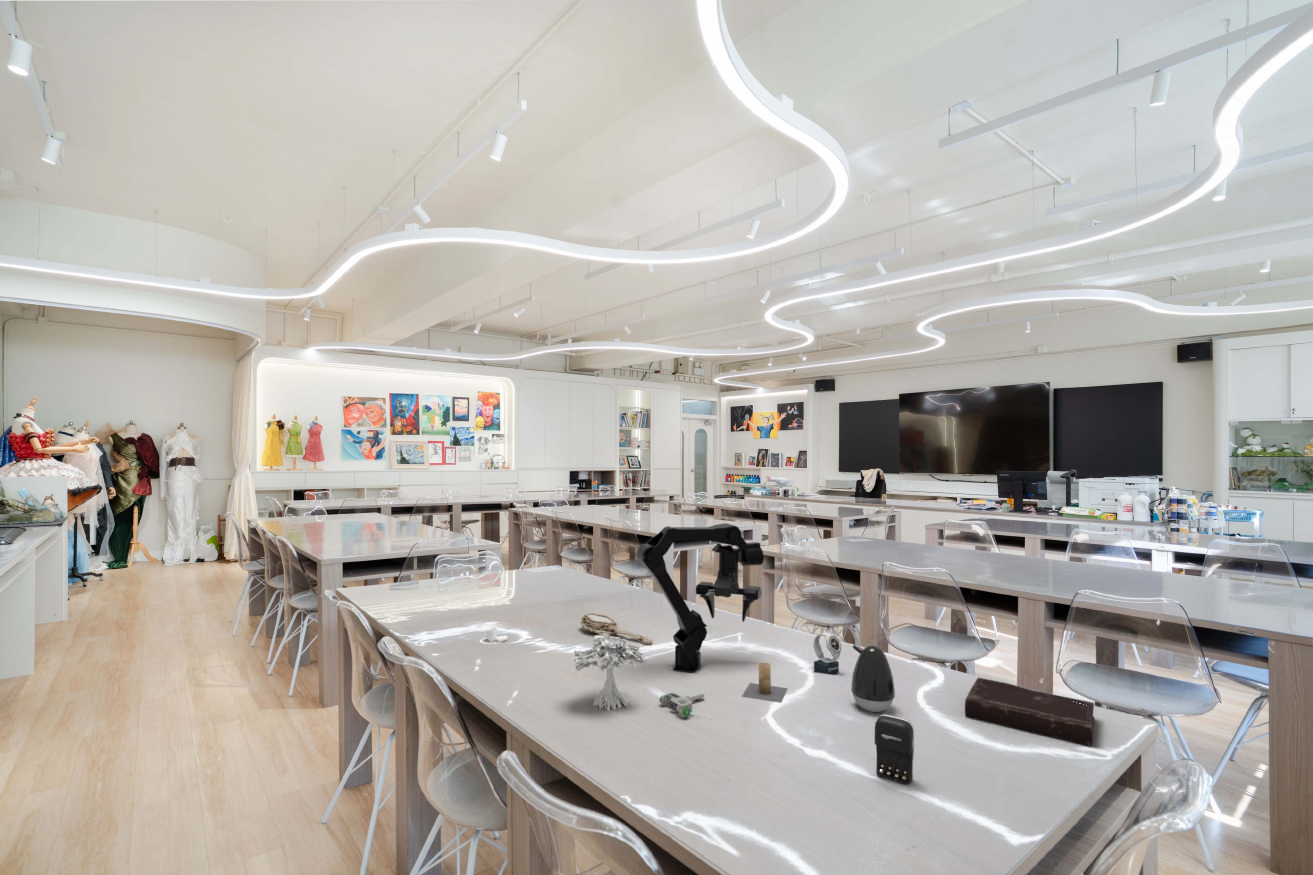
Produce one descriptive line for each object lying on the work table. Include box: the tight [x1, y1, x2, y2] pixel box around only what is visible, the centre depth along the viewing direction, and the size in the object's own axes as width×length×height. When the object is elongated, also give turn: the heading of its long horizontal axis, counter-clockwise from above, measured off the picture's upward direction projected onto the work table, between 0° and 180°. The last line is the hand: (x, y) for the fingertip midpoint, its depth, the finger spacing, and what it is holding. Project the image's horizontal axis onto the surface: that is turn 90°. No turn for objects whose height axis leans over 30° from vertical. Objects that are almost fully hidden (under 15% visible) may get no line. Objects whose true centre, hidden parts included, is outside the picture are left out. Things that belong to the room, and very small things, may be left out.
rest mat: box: [741, 682, 789, 704], centre depth 161 cm, size 10×10×1 cm
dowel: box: [758, 662, 772, 694], centre depth 161 cm, size 3×3×7 cm
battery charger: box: [874, 714, 915, 785], centre depth 121 cm, size 7×4×11 cm, turn 56°
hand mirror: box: [580, 612, 654, 645], centre depth 212 cm, size 11×6×30 cm
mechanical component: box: [659, 692, 706, 719], centre depth 153 cm, size 3×10×10 cm
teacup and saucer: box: [479, 627, 509, 645], centre depth 205 cm, size 9×8×4 cm
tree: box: [572, 633, 647, 712], centre depth 156 cm, size 18×16×17 cm
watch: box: [812, 632, 842, 676], centre depth 179 cm, size 6×8×11 cm
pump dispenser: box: [850, 644, 896, 713], centre depth 155 cm, size 10×10×15 cm
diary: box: [964, 677, 1095, 748], centre depth 150 cm, size 19×25×5 cm
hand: (728, 619), depth 186 cm, fingers open, 9 cm apart
